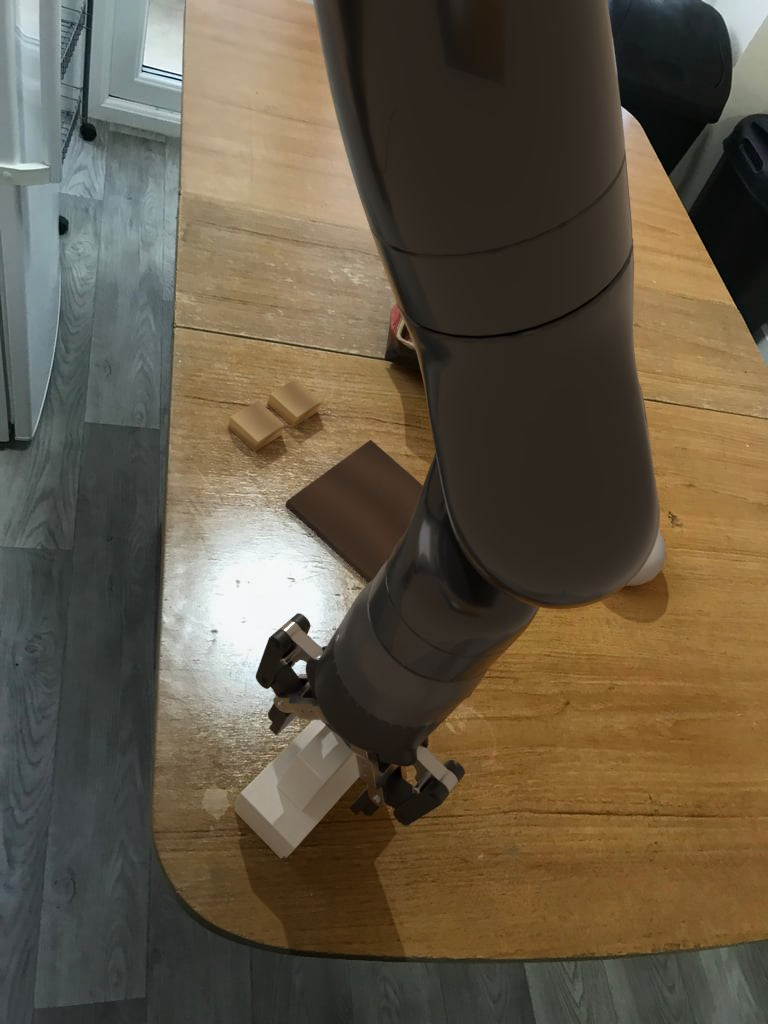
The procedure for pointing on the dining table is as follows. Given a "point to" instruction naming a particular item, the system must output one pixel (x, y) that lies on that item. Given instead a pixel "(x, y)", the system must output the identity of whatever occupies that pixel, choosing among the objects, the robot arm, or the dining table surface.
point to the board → (360, 507)
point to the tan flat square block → (256, 426)
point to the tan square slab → (294, 402)
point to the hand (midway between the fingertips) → (321, 762)
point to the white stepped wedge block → (298, 788)
